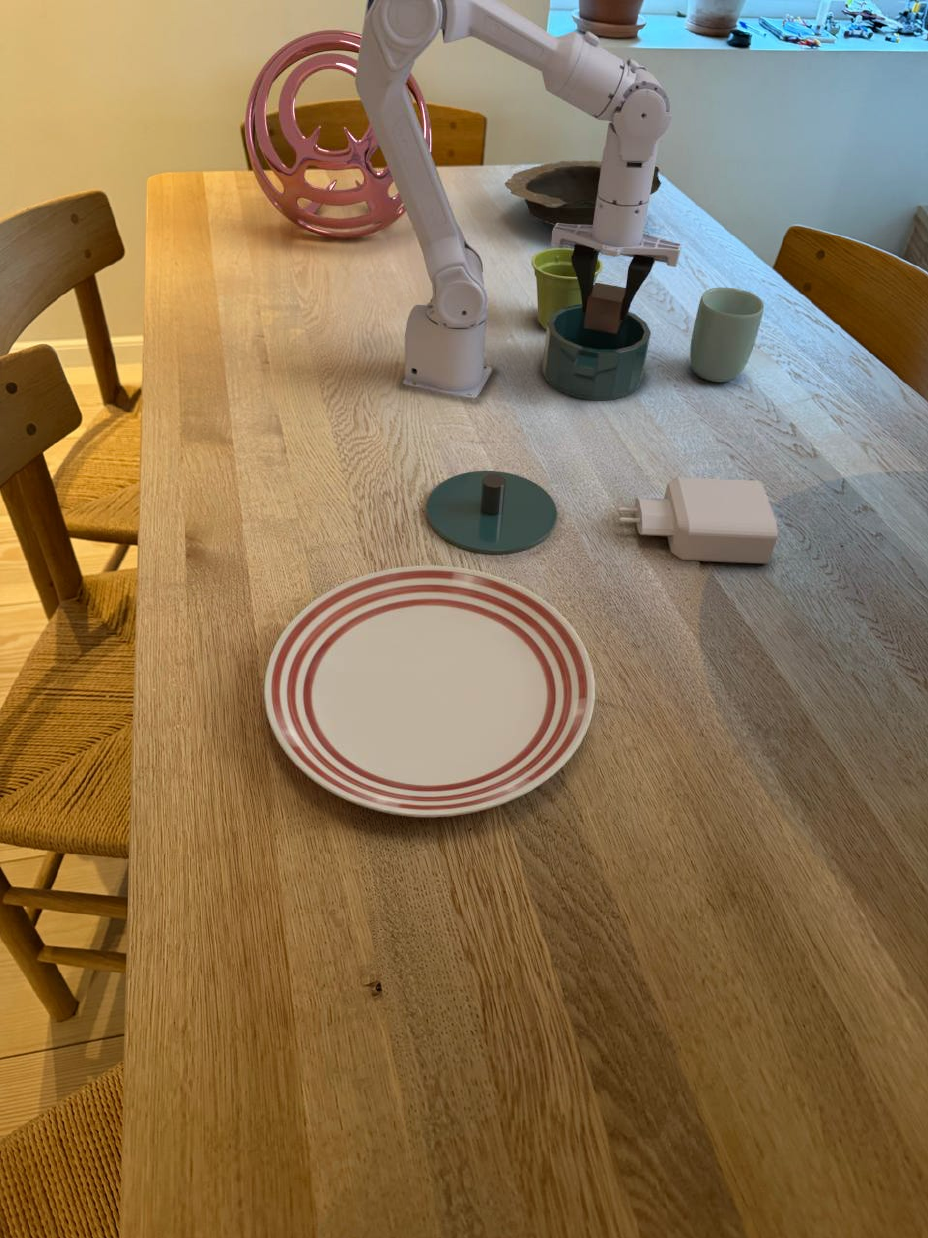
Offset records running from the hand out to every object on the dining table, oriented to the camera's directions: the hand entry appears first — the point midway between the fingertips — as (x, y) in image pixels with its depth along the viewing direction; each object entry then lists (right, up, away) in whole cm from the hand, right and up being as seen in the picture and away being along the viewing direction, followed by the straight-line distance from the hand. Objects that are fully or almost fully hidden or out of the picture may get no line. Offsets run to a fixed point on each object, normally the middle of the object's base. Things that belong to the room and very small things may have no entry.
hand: (604, 312), depth 114 cm
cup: (+16, -5, +10) cm, 19 cm away
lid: (-14, -26, -15) cm, 33 cm away
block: (0, -1, +1) cm, 1 cm away
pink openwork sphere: (-37, +25, +37) cm, 58 cm away
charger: (+6, -28, -15) cm, 33 cm away
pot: (-1, -5, +8) cm, 10 cm away
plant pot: (-4, +4, +18) cm, 19 cm away
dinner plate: (-20, -44, -33) cm, 58 cm away
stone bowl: (+2, +28, +43) cm, 51 cm away
